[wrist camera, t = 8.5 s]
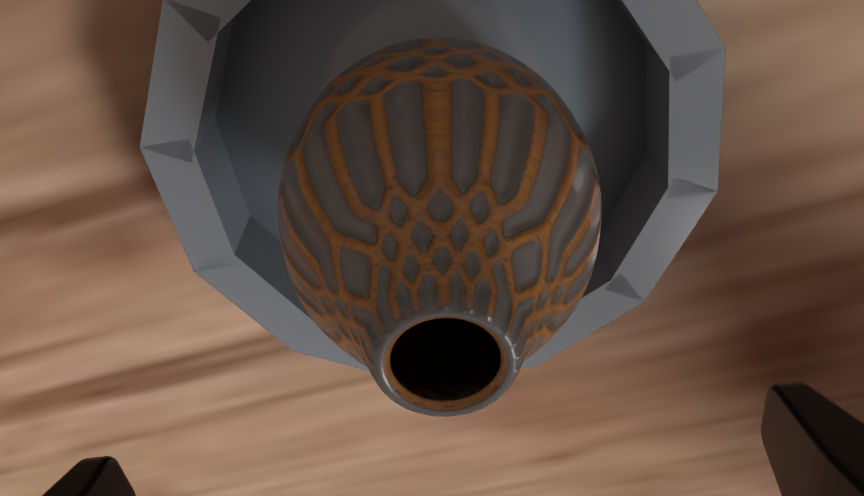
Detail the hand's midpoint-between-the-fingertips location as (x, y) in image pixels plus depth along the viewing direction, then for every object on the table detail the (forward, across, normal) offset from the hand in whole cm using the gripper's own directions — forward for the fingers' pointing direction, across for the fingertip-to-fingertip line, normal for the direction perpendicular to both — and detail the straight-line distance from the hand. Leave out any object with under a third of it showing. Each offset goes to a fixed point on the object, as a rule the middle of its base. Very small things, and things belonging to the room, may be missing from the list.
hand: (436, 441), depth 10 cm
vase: (+11, 0, 0) cm, 11 cm away
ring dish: (+11, 0, 0) cm, 11 cm away
